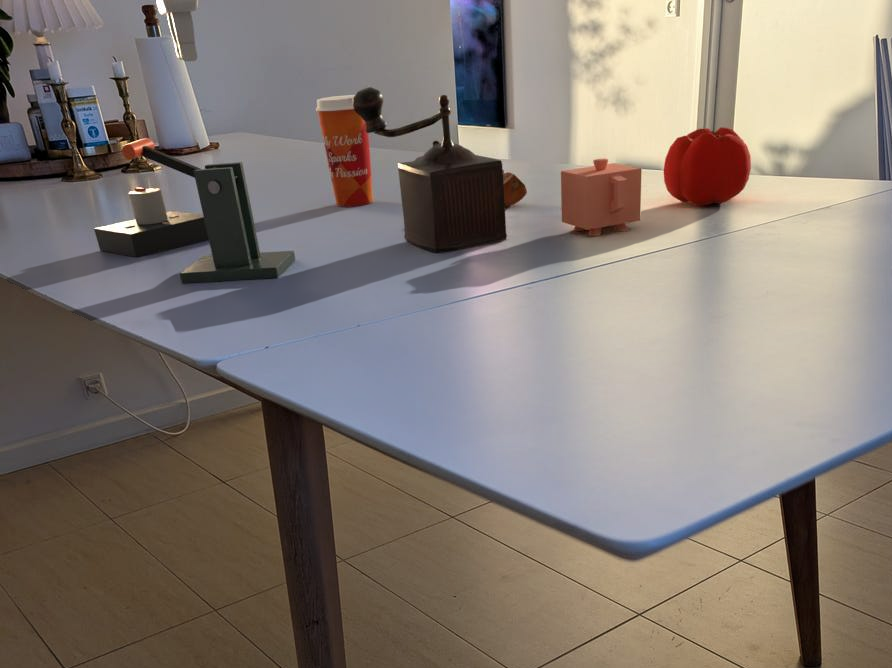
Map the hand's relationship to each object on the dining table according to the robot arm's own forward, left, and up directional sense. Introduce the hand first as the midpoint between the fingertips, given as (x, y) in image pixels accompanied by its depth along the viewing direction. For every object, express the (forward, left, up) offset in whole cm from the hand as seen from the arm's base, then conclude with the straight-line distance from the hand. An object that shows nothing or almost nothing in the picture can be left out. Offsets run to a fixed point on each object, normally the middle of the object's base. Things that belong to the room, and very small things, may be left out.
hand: (187, 60), depth 109 cm
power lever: (-7, -5, -11) cm, 14 cm away
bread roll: (+40, -14, -22) cm, 48 cm away
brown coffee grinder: (+17, -22, -22) cm, 36 cm away
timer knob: (+1, +18, -19) cm, 27 cm away
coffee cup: (+34, +13, -22) cm, 43 cm away
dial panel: (+1, +18, -22) cm, 29 cm away
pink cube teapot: (+33, -37, -22) cm, 54 cm away
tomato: (+52, -41, -22) cm, 70 cm away
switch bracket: (-4, -9, -22) cm, 24 cm away
